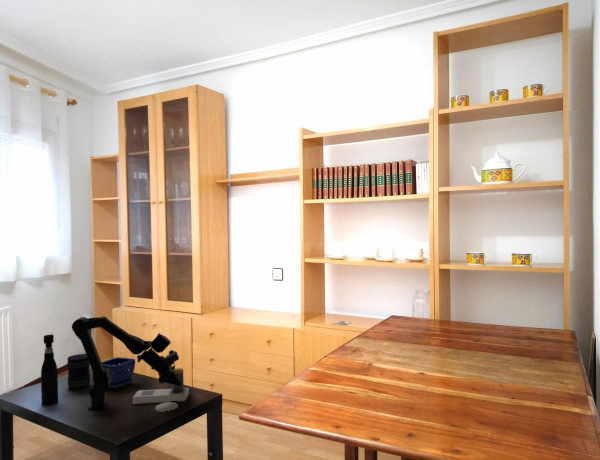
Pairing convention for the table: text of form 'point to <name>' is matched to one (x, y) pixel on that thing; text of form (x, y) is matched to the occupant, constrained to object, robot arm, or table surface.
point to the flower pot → (120, 371)
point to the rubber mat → (166, 406)
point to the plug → (179, 376)
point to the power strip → (158, 396)
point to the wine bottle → (49, 374)
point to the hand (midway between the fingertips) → (180, 383)
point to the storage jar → (78, 372)
